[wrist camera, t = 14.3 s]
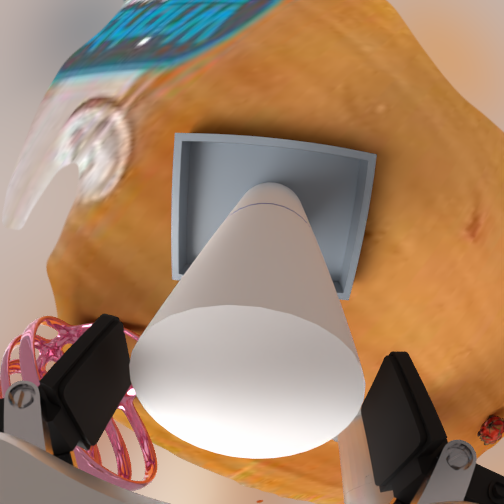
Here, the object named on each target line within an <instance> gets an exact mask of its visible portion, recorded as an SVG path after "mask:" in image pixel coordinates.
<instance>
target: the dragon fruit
mask: <svg viewBox="0 0 504 504" xmlns="http://www.w3.org/2000/svg"><path fill="white" fill-rule="evenodd" d="M503 432H504V419H503V418H502V419H501V418H500V417H498V416H497V417H496V416H493V415H492V416H490V417H489V418H488V420H487V421H486V422H485V423H484V425H482V427H481V429H480V431H479V432H478V435H477V436H480V439H481V441H484V445H488V444H494V443H495V442H496V441H497V440H500V439H501V437H502V433H503Z"/></svg>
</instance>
